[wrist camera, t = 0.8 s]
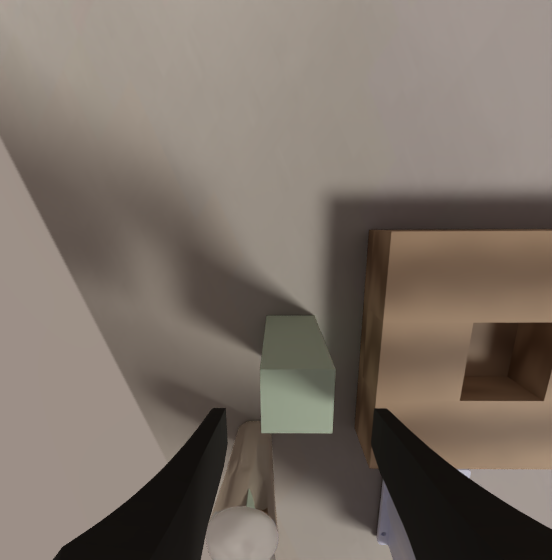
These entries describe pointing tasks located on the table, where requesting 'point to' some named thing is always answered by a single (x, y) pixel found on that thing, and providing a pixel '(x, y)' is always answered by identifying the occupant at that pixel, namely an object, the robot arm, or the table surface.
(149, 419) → the table surface
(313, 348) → the peg
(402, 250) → the socket block
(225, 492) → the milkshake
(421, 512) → the robot arm
